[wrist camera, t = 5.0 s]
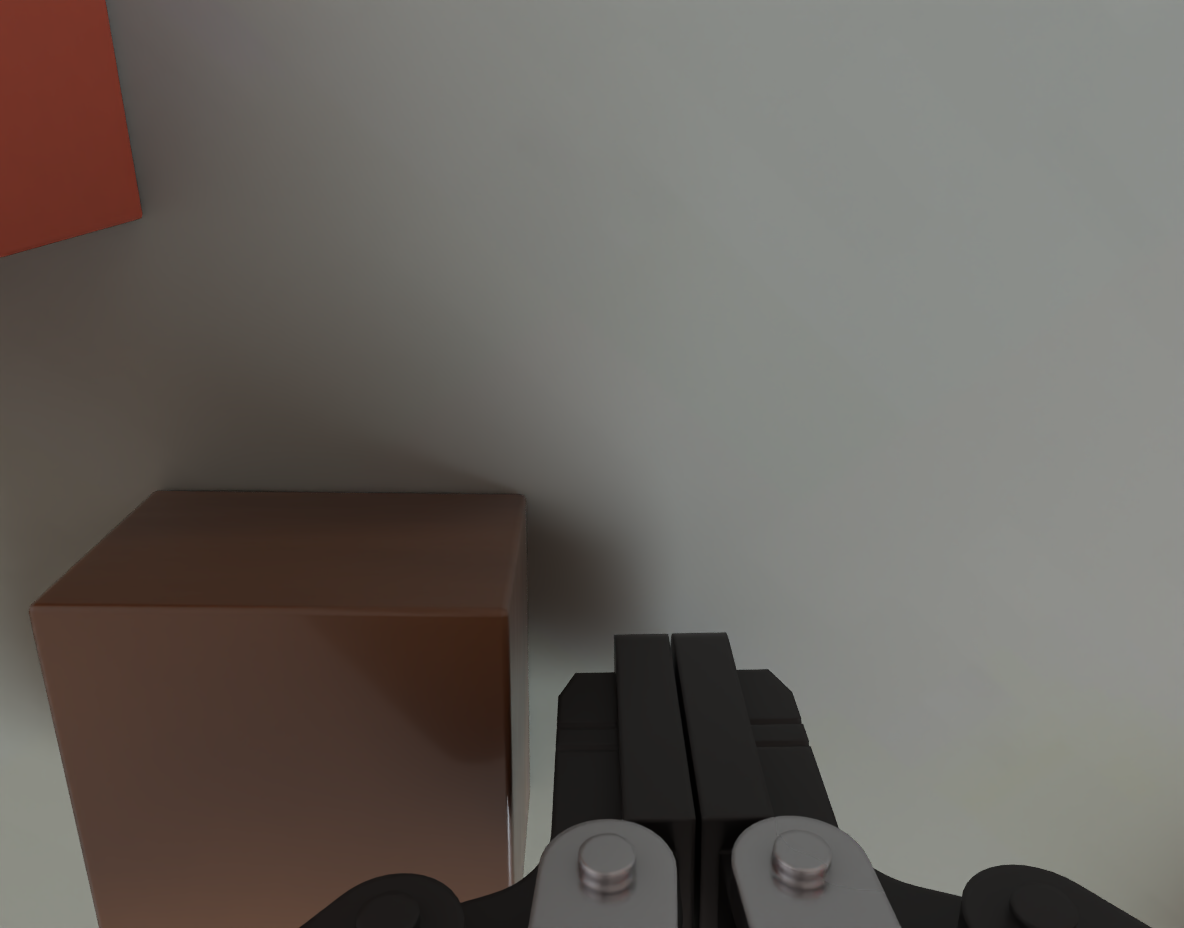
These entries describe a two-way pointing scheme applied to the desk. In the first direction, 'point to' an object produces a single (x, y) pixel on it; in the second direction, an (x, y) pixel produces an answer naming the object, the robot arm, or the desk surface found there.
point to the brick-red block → (61, 125)
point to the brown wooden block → (292, 701)
